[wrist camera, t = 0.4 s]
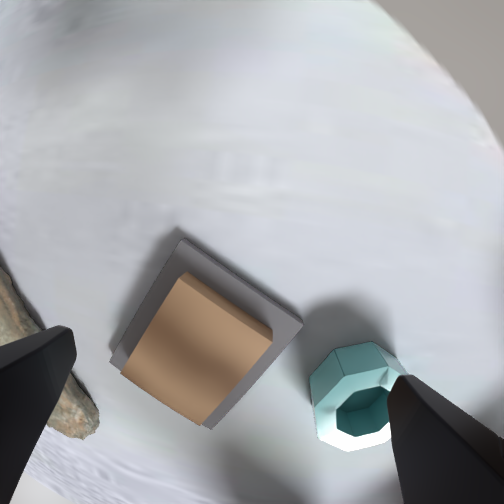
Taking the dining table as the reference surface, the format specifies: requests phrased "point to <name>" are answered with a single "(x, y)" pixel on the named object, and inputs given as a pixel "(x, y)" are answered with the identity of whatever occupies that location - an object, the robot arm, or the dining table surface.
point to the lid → (196, 349)
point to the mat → (229, 288)
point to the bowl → (354, 395)
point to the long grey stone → (73, 397)
